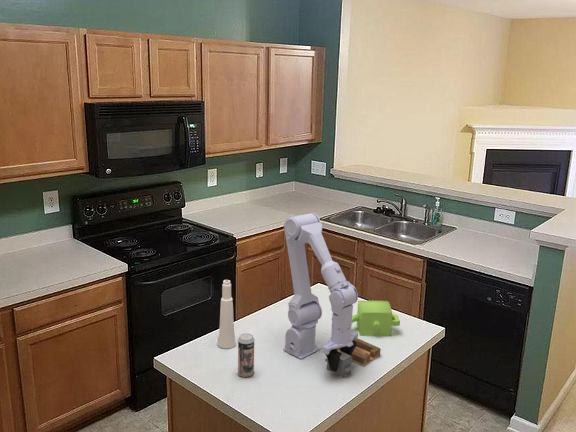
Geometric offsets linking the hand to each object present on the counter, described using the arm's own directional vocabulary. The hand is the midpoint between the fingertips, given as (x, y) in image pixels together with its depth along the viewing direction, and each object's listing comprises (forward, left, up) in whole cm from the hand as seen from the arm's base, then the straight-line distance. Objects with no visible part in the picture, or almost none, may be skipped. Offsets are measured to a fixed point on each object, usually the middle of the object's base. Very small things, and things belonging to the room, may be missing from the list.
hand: (338, 366), depth 161 cm
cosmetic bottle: (-14, +35, -2) cm, 38 cm away
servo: (0, 0, -2) cm, 2 cm away
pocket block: (+12, +2, -1) cm, 12 cm away
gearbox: (+28, +8, -2) cm, 29 cm away
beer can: (-21, +18, -2) cm, 28 cm away
